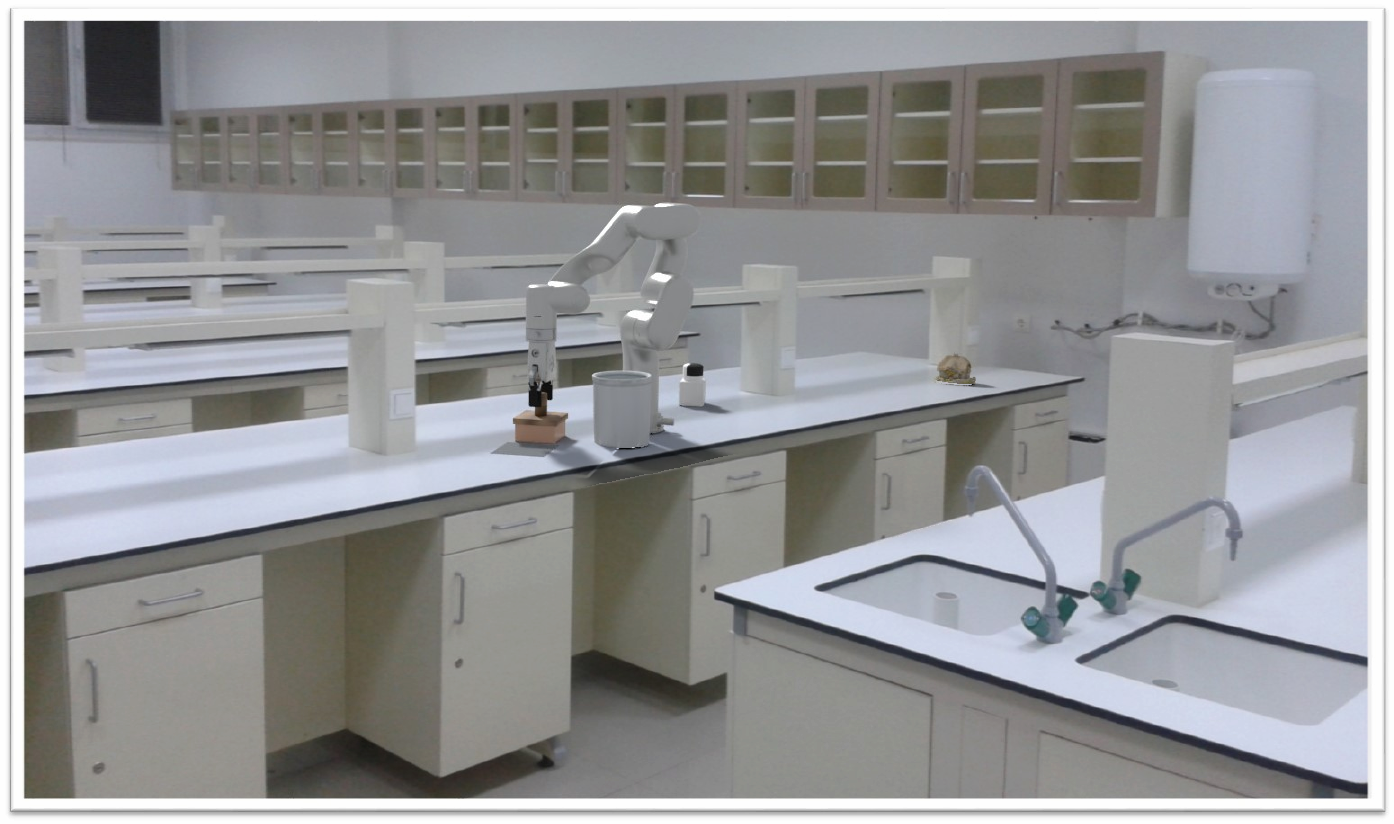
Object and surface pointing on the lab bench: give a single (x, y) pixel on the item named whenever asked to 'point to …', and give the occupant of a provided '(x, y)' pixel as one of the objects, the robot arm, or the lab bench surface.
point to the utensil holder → (621, 408)
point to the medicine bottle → (692, 386)
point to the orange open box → (539, 433)
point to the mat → (524, 449)
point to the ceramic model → (955, 370)
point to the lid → (540, 416)
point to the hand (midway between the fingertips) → (540, 403)
